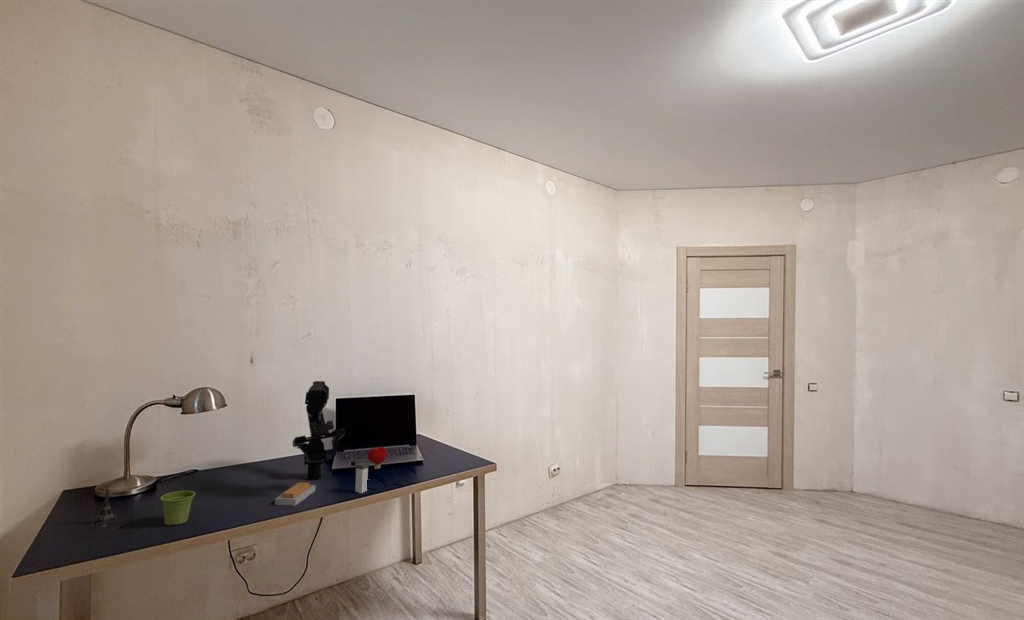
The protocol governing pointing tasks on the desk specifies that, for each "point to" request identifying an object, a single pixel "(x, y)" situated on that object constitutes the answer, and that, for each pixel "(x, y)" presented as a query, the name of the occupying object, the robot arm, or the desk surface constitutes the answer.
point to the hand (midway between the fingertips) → (322, 459)
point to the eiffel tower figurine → (105, 512)
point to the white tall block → (361, 477)
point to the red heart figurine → (377, 456)
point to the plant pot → (177, 506)
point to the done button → (295, 490)
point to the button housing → (297, 499)
